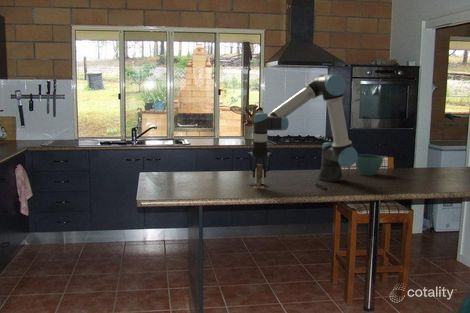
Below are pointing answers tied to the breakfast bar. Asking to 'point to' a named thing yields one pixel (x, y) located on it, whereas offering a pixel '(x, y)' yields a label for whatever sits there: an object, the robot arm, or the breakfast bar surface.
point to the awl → (259, 174)
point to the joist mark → (258, 187)
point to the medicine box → (253, 179)
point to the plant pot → (368, 164)
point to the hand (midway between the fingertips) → (259, 183)
